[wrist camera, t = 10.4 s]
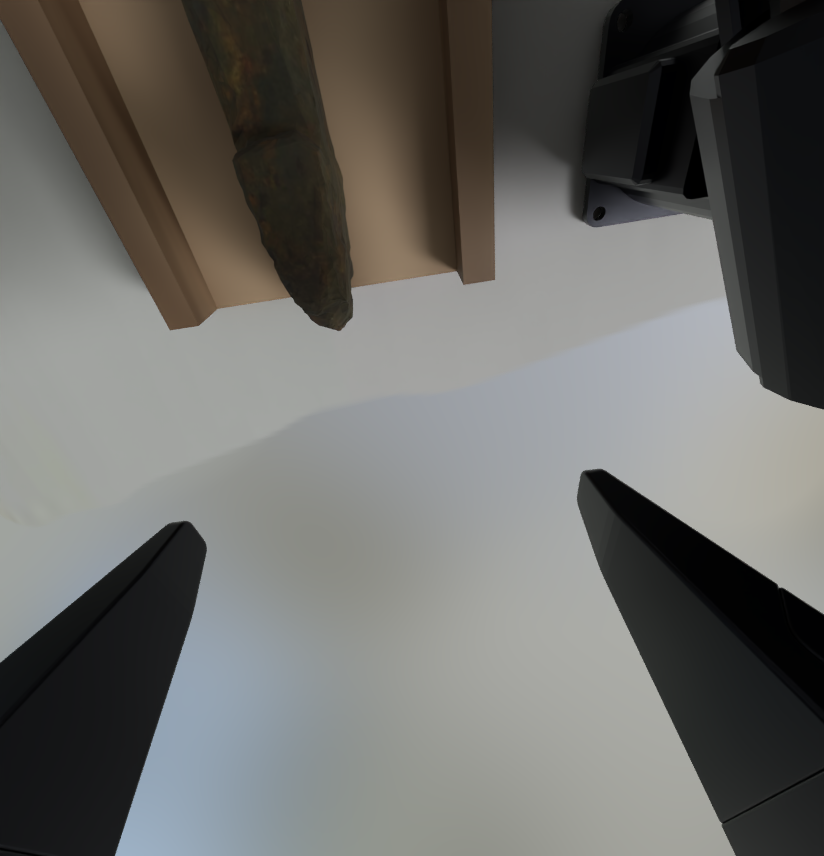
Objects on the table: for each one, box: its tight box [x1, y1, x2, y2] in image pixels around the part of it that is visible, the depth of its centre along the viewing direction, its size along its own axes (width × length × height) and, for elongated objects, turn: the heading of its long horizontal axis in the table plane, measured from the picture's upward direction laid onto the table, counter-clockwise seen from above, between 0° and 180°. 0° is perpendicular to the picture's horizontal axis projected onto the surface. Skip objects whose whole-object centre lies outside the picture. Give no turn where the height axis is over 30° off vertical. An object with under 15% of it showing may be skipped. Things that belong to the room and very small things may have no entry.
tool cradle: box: [0, 0, 495, 330], centre depth 11 cm, size 13×17×3 cm
